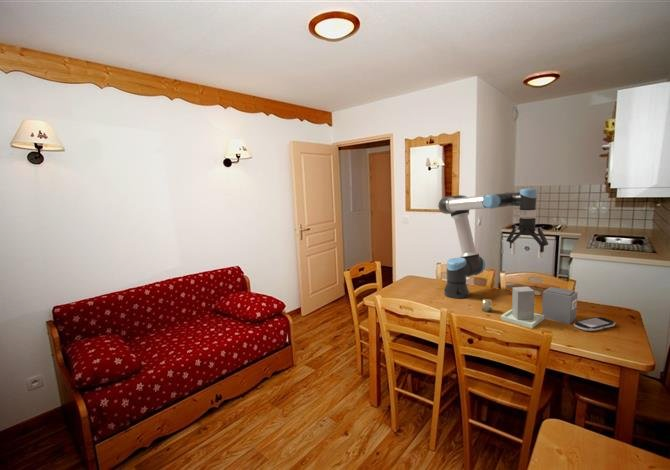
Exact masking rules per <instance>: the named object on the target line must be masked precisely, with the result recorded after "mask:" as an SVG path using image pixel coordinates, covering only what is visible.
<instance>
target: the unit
mask: <svg viewBox="0 0 670 470" xmlns="http://www.w3.org/2000/svg"><path fill="white" fill-rule="evenodd" d="M541 305H542V306H541V307H542V308H541V309H542V310H541V311H542V312H541V315H544V319H546V320H551V321H555V322H558V323H563V324H566V325H570V324H572V322H573V323H574V321H576V319H577V310H578V291H575V290H571V289H567V288H560V287H556V286H550V287H548V288H546V289H545V290H544V291H542V304H541Z"/></svg>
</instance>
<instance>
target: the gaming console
mask: <svg viewBox="0 0 670 470" xmlns="http://www.w3.org/2000/svg"><path fill="white" fill-rule="evenodd" d="M615 325H616V322H615V321H614V320H611V319H609V318H606V317H601V316H598V317H595V316H594V317H590V318H584V319H581V320H575V322H573V326H574V328H576V329H578V330H581V331H583V332H588V333H589V332H590V331H591V333H593V332H596V331H601V330H605V329H609V328H613V327H614V326H615Z"/></svg>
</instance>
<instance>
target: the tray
mask: <svg viewBox="0 0 670 470" xmlns="http://www.w3.org/2000/svg"><path fill="white" fill-rule="evenodd" d="M500 320H501V321H504V322H508V323H512V324H515V325H518V326H521V327H522V326H523V327H526V328H530V329H533V328H534V327H536V326H537V325H539V324H540V323H541V322H542V321H543V320H545V318H544V315H542V314H539V313H536V312H534V319H524V320H517V319H516V318H515V317H514V316H513V315H512V308H511V309H510V310H507V311H506V312H504V313H503V314H501V315H500Z"/></svg>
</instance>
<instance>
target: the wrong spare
mask: <svg viewBox="0 0 670 470" xmlns="http://www.w3.org/2000/svg"><path fill="white" fill-rule="evenodd" d="M481 311H482V312H484V313H492V311H493V300H492V299H489V298H482V299H481Z"/></svg>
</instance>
